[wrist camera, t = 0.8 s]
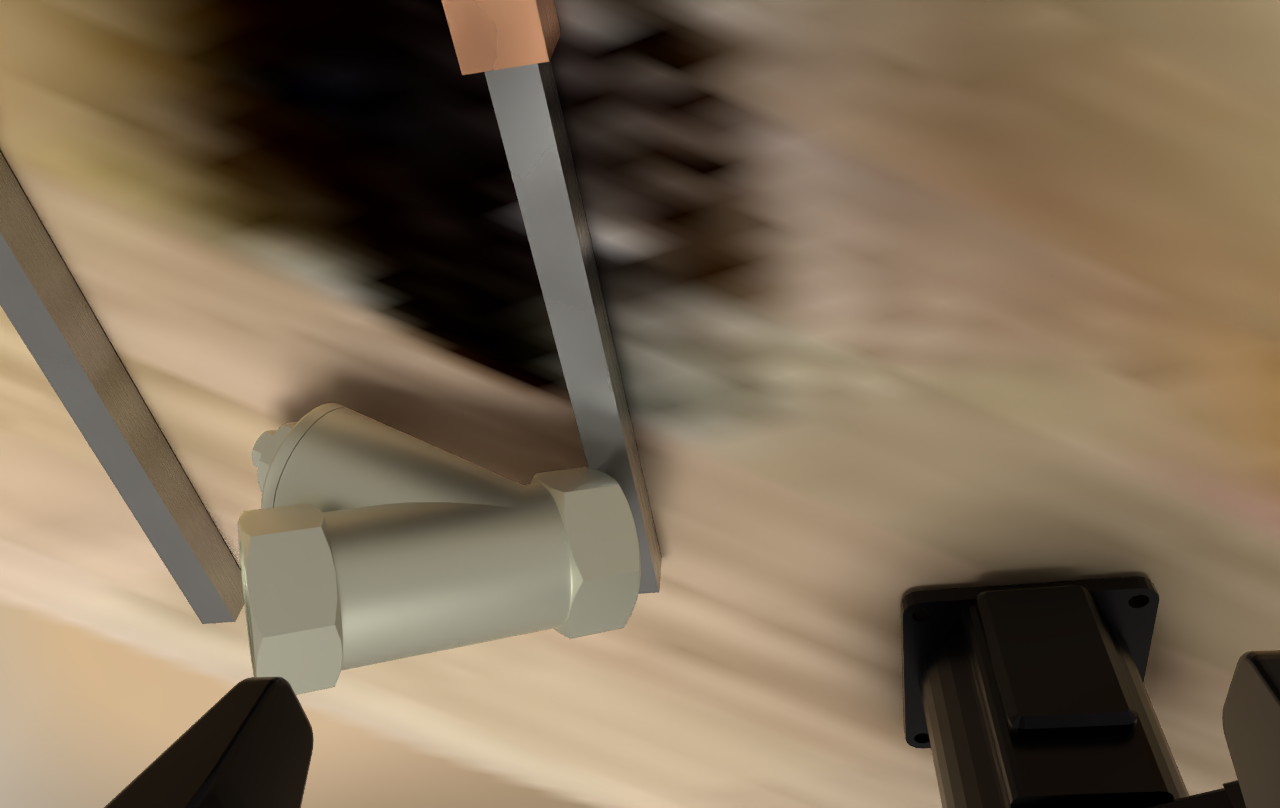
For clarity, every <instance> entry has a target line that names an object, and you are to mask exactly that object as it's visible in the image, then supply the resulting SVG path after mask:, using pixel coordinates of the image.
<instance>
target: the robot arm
mask: <svg viewBox="0 0 1280 808" xmlns="http://www.w3.org/2000/svg"><path fill="white" fill-rule="evenodd" d="M1136 595H1138V596H1136ZM1158 604H1159V595H1158V593H1157V591H1156V588H1155V586H1154V584H1153V583H1152V582H1151V581H1150V580H1149V579H1147V578H1144V577H1124V578H1109V579H1095V580H1080V581H1065V582H1050V583H1035V584H1020V585H1005V586H990V587H975V588H960V589H945V590H930V591H918V592H913V593H910V594H908V595H906V596H905V597H904V598H903V599H902V601H901V642H902V680H903V718H904V732H905V738H906V741H907V743H908V744H909V745H910V746H913V747H916V748H931V750H932V755H933V760H934V765H935V771H936V776H937V781H938V786H939V792H940V797H941V802H942V807H943V808H1280V650H1279V651H1250V652H1246V653H1245V654H1243V655H1242V656H1241V657H1240V659H1239V661H1238V663H1237V666H1236V669H1235V672H1234V676H1233V679H1232V682H1231V685H1230V688H1229V692H1228V695H1227V698H1226V701H1225V704H1224V708H1223V717H1222V719H1223V729H1224V734H1225V738H1226V741H1227V745H1228V748H1229V751H1230V755H1231V758H1232V761H1233V765H1234V768H1235V771H1236V775H1237V778H1238V780H1237V781H1233V782H1228V783H1224V784H1223V786H1224V788H1222V789H1218V790H1214V791H1209V792H1205V793H1201V794H1196V795H1192V796H1189V794H1188V792H1187V789H1186V787H1185V784H1184V782H1183V779H1182V777H1181V775H1180V772H1179V770H1178V767H1177V765H1176V762H1175V760H1174V757H1173V755H1172V753H1171V750H1170V748H1169V745H1168V743H1167V740H1166V738H1165V735H1164V733H1163V731H1162V728H1161V726H1160V723H1159V721H1158V718H1157V716H1156V713H1155V711H1154V709H1153V706H1152V704H1151V701H1150V699H1149V696H1148V694H1147V691H1146V689H1145V687H1144V684H1143V681H1144V676H1145V671H1146V666H1147V660H1148V655H1149V650H1150V645H1151V640H1152V635H1153V629H1154V624H1155V619H1156V614H1157V609H1158ZM918 609H923V610H918ZM312 750H313V732H312V727H311V725H310V722H309V720H308V718H307V716H306V714H305V712H304V710H303V708H302V706H301V704H300V702H299V700H298V698H297V697H296V695H295V693H294V691H293V689H292V687H291V685H290V683H289V682H288V681H287V680H285V679H284V678H282V677H252V678H247V679H244V680H242V681H241V682H239V683H238V684H237V685H235V686H234V687H233V688H232V689H231V690H230V691H229V692H228V693H227V694H226V695H225V696H224V697H222V698H221V699H220V700H219V701H218V702H217V703H216V704H215V705H214V706H213V707H212V708H211V709H210V710H208V711H207V712H206V713H205V714H204V715H203V716H202V717H201V718H200V719H199V720H198V721H197V722H196V723H195V724H194V725H192V726H191V727H190V728H189V729H188V730H187V731H186V732H185V733H184V734H183V735H182V736H181V737H179V739H177V740H176V741H175V742H174V743H173V744H172V745H171V746H170V747H169V748H168V749H167V750H165V751H164V753H162V754H161V755H160V756H159V757H158V758H157V759H156V760H155V761H154V762H153V763H152V764H150V765H149V766H148V767H147V768H146V769H145V770H144V771H143V772H142V773H141V774H140V775H139V776H137V777H136V778H135V779H134V780H133V781H132V782H131V783H130V784H129V785H128V786H127V787H126V788H125V789H124V790H122V791H121V793H119V794H118V795H117V796H116V797H115V798H114V799H113V800H112V801H111V802H110V803H108V804H107V805H106V806H105V807H104V808H301V804H302V799H303V794H304V789H305V784H306V780H307V775H308V770H309V765H310V761H311V756H312Z"/></svg>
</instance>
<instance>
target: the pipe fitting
mask: <svg viewBox="0 0 1280 808" xmlns="http://www.w3.org/2000/svg"><path fill="white" fill-rule="evenodd" d="M252 461H253V464H254V465H255V466H257V467H258V469H257V476H258V483H259V487H260V490H261V492H262V500H261V507H262V509H259V510H251V511H244V512H243V514H242V515H241V517H240V519H239V521H238V540H239V553H240V564H241V575H242V585H243V594H244V604H245V613H246V621H247V630H248V638H249V646H250V654H251V661H252V668H253V675H254V677H282V678H284V679H285V680H287V681H288V682H289V683H290V685H291V687H292V689H293V691H294V693H295V695H298V694H303V693H307V692H312V691H317V690H322V689H327V688H332V687H335V684H336V682H337V680H338V677H339V675H340V672H341V670H346V669H351V668H356V667H361V666H366V665H371V664H376V663H381V662H386V661H391V660H396V659H402V658H407V657H412V656H417V655H422V654H427V653H432V652H437V651H442V650H447V649H452V648H457V647H462V646H467V645H472V644H477V643H482V642H487V641H492V640H497V639H502V638H507V637H512V636H517V635H522V634H527V633H532V632H537V631H543V630H548V629H555V630H556V631H557V632H559V633H560V634H562V635H564V636H566V637H568V638H570V639H572V638H577V637H581V636H586V635H591V634H596V633H601V632H606V631H611V630H616V629H621V628H624V626H625V624H626V622H627V621H628V619H629V617H630V615H631V613H632V611H633V609H634V606H635V604H636V601H637V597H638V593H639V587H640V569H641V565H640V551H639V543H638V537H637V532H636V527H635V523H634V519H633V516H632V513H631V510H630V507H629V504H628V502H627V499H626V497H625V495H624V493H623V491H622V489H621V487H620V486H619V484H618V482H617V481H616V480H615V479H614V478H612V477H611V476H610V475H608V474H606V473H604V472H601V471H599V470H589V468H588V467H581V468H573V469H565V470H558V471H550V472H542V473H535V475H534V477H533V479H532V481H531V484H530V485H522V484H520V483H517V482H515V481H513V480H510V479H508V478H506V477H504V476H501V475H499V474H497V473H495V472H492V471H490V470H488V469H485V468H483V467H481V466H479V465H476V464H474V463H472V462H470V461H467V460H465V459H463V458H460V457H458V456H456V455H454V454H451V453H449V452H447V451H444V450H442V449H440V448H438V447H435V446H433V445H431V444H429V443H426V442H424V441H422V440H419V439H417V438H415V437H413V436H410V435H408V434H406V433H404V432H401V431H399V430H397V429H394V428H392V427H390V426H388V425H385V424H383V423H381V422H379V421H376V420H374V419H372V418H369V417H367V416H365V415H363V414H360V413H358V412H356V411H353V410H351V409H349V408H347V407H344V406H342V405H340V404H337V403H327V404H323V405H320V406H318V407H316V408H315V409H313V410H311V411H310V412H309V413H307V414H306V415H305V416H304V417H302V418H301V419H300V420H299V421H298V422H290V423H286V424H283V425H282V426H281V427H280V428H279V429H278V430H270V431H266V432H264V433H263V434H262V435H261V436H260V437H259V438H258V440H257V441H256V443H255V445H254V447H253V451H252Z"/></svg>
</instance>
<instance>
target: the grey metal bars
mask: <svg viewBox="0 0 1280 808" xmlns="http://www.w3.org/2000/svg"><path fill="white" fill-rule="evenodd" d="M442 4H443V7H444V11H445V15H446V18H447V22H448V25H449V29H450V33H451V36H452V40H453V43H454V47H455V51H456V54H457V58H458V62H459V65H460V69H461V72H462V75H466V74H473V73H479V72H485V76H486V80H487V84H488V87H489V91H490V95H491V99H492V103H493V107H494V110H495V114H496V118H497V122H498V126H499V129H500V133H501V137H502V141H503V145H504V148H505V152H506V156H507V160H508V164H509V167H510V171H511V175H512V179H513V183H514V187H515V190H516V194H517V198H518V202H519V206H520V209H521V213H522V217H523V221H524V225H525V228H526V232H527V236H528V240H529V244H530V247H531V251H532V255H533V259H534V263H535V266H536V270H537V274H538V278H539V282H540V286H541V289H542V293H543V297H544V301H545V305H546V308H547V312H548V316H549V320H550V324H551V327H552V331H553V335H554V339H555V343H556V346H557V350H558V354H559V358H560V362H561V365H562V369H563V373H564V377H565V381H566V385H567V388H568V392H569V396H570V400H571V404H572V407H573V411H574V415H575V419H576V423H577V426H578V430H579V434H580V438H581V442H582V445H583V449H584V453H585V457H586V461H587V464H588V468H589V470H599V471H601V472H604V473H606V474H608V475H610V476H611V477H612V478H614V479H615V480H616V481H617V482H618V484H619V486H620V487H621V489H622V491H623V493H624V495H625V497H626V499H627V502H628V504H629V507H630V510H631V513H632V516H633V519H634V523H635V527H636V532H637V537H638V543H639V551H640V565H641V569H640V587H639V593H638V594H640V593H655V592H659V589H660V575H661V560H662V559H661V554H660V550H659V545H658V541H657V536H656V532H655V527H654V523H653V518H652V514H651V509H650V505H649V500H648V496H647V491H646V487H645V482H644V478H643V473H642V469H641V464H640V460H639V455H638V451H637V446H636V442H635V437H634V433H633V428H632V424H631V419H630V415H629V410H628V406H627V401H626V397H625V392H624V388H623V383H622V379H621V374H620V370H619V365H618V361H617V356H616V352H615V347H614V343H613V338H612V334H611V329H610V325H609V320H608V316H607V311H606V307H605V302H604V298H603V293H602V289H601V284H600V280H599V275H598V271H597V266H596V262H595V257H594V253H593V248H592V244H591V239H590V235H589V230H588V226H587V221H586V217H585V212H584V208H583V203H582V199H581V194H580V190H579V185H578V181H577V176H576V172H575V167H574V163H573V158H572V154H571V149H570V145H569V140H568V136H567V131H566V127H565V122H564V118H563V113H562V109H561V104H560V100H559V95H558V91H557V86H556V82H555V77H554V73H553V68H552V64H551V56H552V54H553V52H554V49H555V47H556V45H557V42H558V40H559V37H560V35H561V32H560V27H559V23H558V18H557V13H556V9H555V4H554V0H442ZM0 305H1V307H2V308H3V310H4V311H5V313H6V315H7V316H8V318H9V319H10V321H11V323H12V324H13V326H14V327H15V329H16V330H17V332H18V334H19V335H20V337H21V338H22V340H23V341H24V343H25V345H26V346H27V348H28V349H29V351H30V352H31V354H32V356H33V357H34V359H35V360H36V362H37V364H38V365H39V367H40V368H41V370H42V371H43V373H44V375H45V376H46V378H47V379H48V381H49V382H50V384H51V386H52V387H53V389H54V390H55V392H56V394H57V395H58V397H59V398H60V400H61V401H62V403H63V405H64V406H65V408H66V409H67V411H68V412H69V414H70V416H71V417H72V419H73V420H74V422H75V424H76V425H77V427H78V428H79V430H80V431H81V433H82V435H83V436H84V438H85V439H86V441H87V442H88V444H89V446H90V447H91V449H92V450H93V452H94V453H95V455H96V457H97V458H98V460H99V461H100V463H101V465H102V466H103V468H104V469H105V471H106V472H107V474H108V476H109V477H110V479H111V480H112V482H113V483H114V485H115V487H116V488H117V490H118V491H119V493H120V495H121V496H122V498H123V499H124V501H125V502H126V504H127V506H128V507H129V509H130V510H131V512H132V513H133V515H134V517H135V518H136V520H137V521H138V523H139V525H140V526H141V528H142V529H143V531H144V532H145V534H146V536H147V537H148V539H149V540H150V542H151V543H152V545H153V547H154V548H155V550H156V551H157V553H158V554H159V556H160V558H161V559H162V561H163V562H164V564H165V566H166V567H167V569H168V570H169V572H170V573H171V575H172V577H173V578H174V580H175V581H176V583H177V584H178V586H179V588H180V589H181V591H182V592H183V594H184V596H185V597H186V599H187V600H188V602H189V603H190V605H191V607H192V608H193V610H194V611H195V613H196V614H197V616H198V618H199V619H200V621H201V622H202V624H207V623H222V622H235V621H236V619H237V617H238V615H239V613H240V611H241V609H242V607H243V605H244V594H243V585H242V575H241V571H240V569H239V567H238V565H237V564H236V562H235V560H234V558H233V557H232V555H231V553H230V551H229V550H228V548H227V546H226V544H225V543H224V541H223V539H222V537H221V536H220V534H219V532H218V530H217V529H216V527H215V525H214V523H213V522H212V520H211V518H210V516H209V515H208V513H207V511H206V510H205V508H204V506H203V504H202V503H201V501H200V499H199V497H198V496H197V494H196V492H195V490H194V489H193V487H192V485H191V483H190V482H189V480H188V478H187V476H186V475H185V473H184V471H183V469H182V468H181V466H180V464H179V462H178V461H177V459H176V457H175V456H174V454H173V452H172V450H171V449H170V447H169V445H168V443H167V442H166V440H165V438H164V436H163V435H162V433H161V431H160V429H159V428H158V426H157V424H156V422H155V421H154V419H153V417H152V415H151V414H150V412H149V410H148V408H147V407H146V405H145V403H144V402H143V400H142V398H141V396H140V395H139V393H138V391H137V389H136V388H135V386H134V384H133V382H132V381H131V379H130V377H129V375H128V374H127V372H126V370H125V368H124V367H123V365H122V363H121V361H120V360H119V358H118V356H117V354H116V353H115V351H114V349H113V347H112V346H111V344H110V342H109V341H108V339H107V337H106V335H105V334H104V332H103V330H102V328H101V327H100V325H99V323H98V321H97V320H96V318H95V316H94V314H93V313H92V311H91V309H90V307H89V306H88V304H87V302H86V300H85V299H84V297H83V295H82V293H81V292H80V290H79V288H78V287H77V285H76V283H75V281H74V280H73V278H72V276H71V274H70V273H69V271H68V269H67V267H66V266H65V264H64V262H63V260H62V259H61V257H60V255H59V253H58V252H57V250H56V248H55V246H54V245H53V243H52V241H51V239H50V238H49V236H48V234H47V233H46V231H45V229H44V227H43V226H42V224H41V222H40V220H39V219H38V217H37V215H36V213H35V212H34V210H33V208H32V206H31V205H30V203H29V201H28V199H27V198H26V196H25V194H24V192H23V191H22V189H21V187H20V185H19V184H18V182H17V180H16V178H15V177H14V175H13V173H12V172H11V170H10V168H9V166H8V165H7V163H6V161H5V159H4V158H3V156H2V154H1V152H0Z"/></svg>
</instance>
